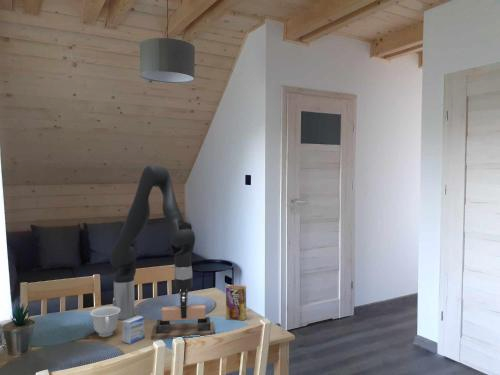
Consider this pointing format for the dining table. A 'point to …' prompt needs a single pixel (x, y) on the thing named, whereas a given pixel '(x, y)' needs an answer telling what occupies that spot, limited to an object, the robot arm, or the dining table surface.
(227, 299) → the candy box
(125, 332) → the medicine box
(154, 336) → the board
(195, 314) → the slat
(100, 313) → the teacup
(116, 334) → the dining table surface
